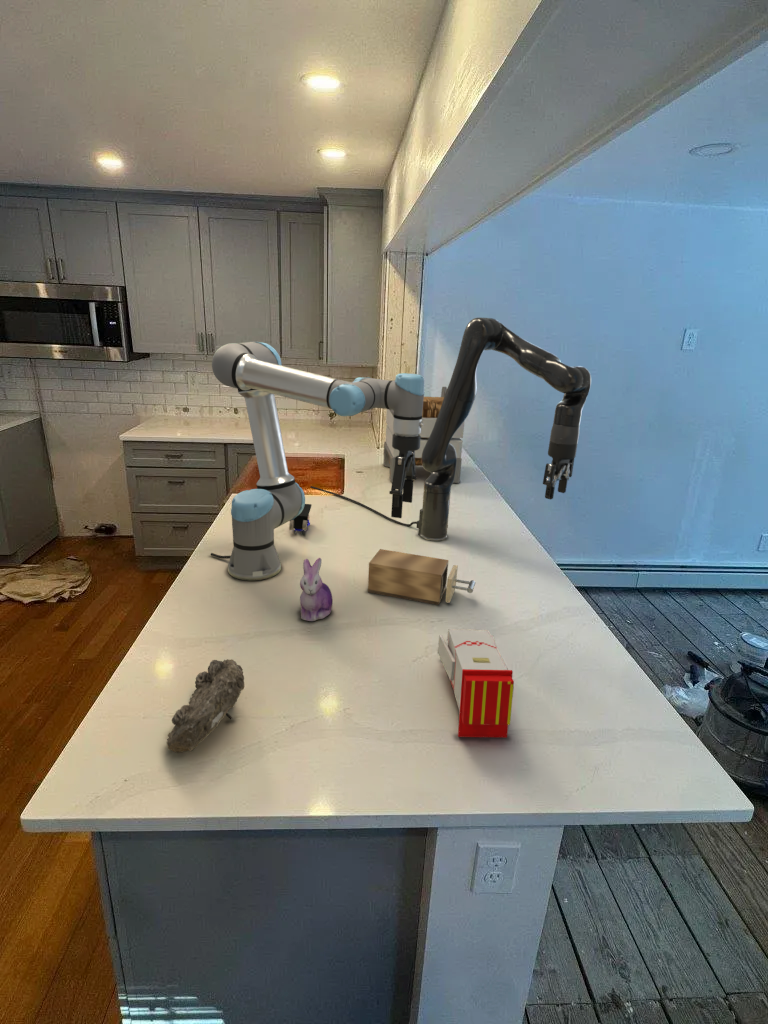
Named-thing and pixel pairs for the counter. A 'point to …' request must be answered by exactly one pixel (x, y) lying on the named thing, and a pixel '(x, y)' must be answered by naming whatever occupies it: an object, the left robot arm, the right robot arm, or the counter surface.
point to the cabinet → (406, 576)
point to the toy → (478, 682)
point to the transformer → (423, 435)
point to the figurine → (314, 593)
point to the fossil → (206, 705)
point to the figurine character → (301, 520)
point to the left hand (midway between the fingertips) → (401, 509)
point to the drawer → (453, 583)
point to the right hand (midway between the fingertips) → (555, 495)
